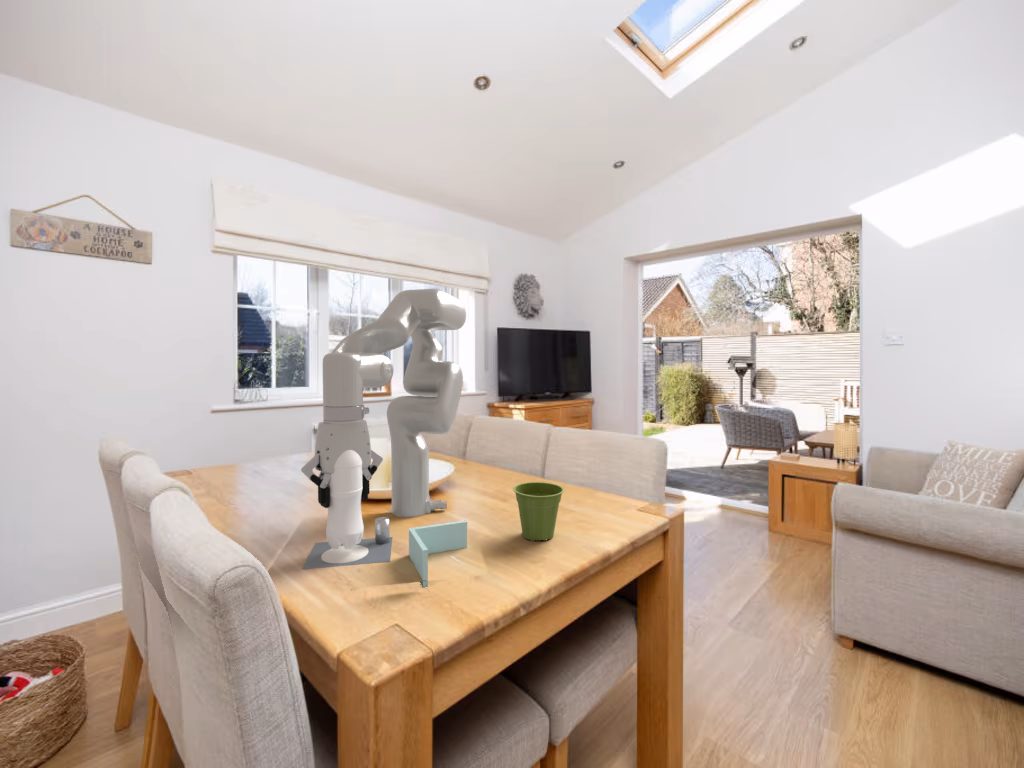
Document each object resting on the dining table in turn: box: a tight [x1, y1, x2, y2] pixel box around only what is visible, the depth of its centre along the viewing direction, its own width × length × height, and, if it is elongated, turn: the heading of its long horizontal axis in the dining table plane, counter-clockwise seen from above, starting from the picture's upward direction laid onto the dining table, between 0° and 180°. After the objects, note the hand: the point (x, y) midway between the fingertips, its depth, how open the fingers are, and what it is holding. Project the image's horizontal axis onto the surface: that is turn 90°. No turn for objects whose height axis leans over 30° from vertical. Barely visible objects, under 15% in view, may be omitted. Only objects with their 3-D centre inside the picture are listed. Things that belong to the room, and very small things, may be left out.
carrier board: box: [301, 536, 393, 570], centre depth 95 cm, size 16×13×2 cm
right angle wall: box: [408, 519, 468, 589], centre depth 90 cm, size 12×12×8 cm
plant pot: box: [512, 481, 565, 541], centre depth 107 cm, size 12×12×11 cm
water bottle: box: [325, 450, 365, 549], centre depth 93 cm, size 7×7×25 cm
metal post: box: [374, 516, 391, 545], centre depth 100 cm, size 3×3×5 cm
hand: (344, 501), depth 93 cm, fingers closed on water bottle, 7 cm apart
